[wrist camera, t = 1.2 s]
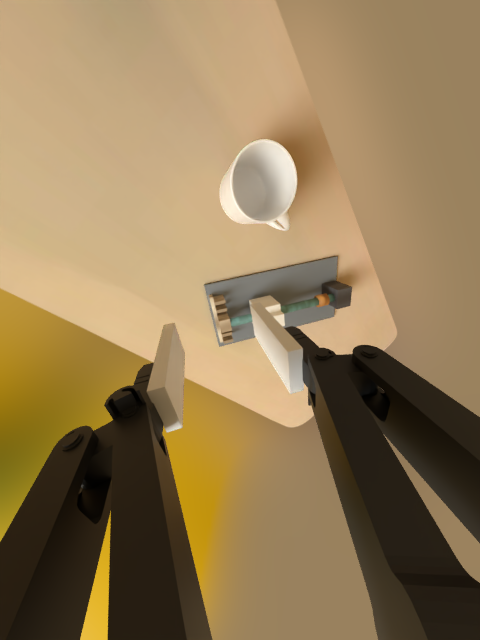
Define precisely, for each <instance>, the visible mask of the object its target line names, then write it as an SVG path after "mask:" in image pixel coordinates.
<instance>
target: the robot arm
mask: <svg viewBox="0 0 480 640" xmlns="http://www.w3.org/2000/svg"><path fill="white" fill-rule="evenodd" d="M250 307H251V314H252V320H253V327H254V334H255V337H256V338H257V340H258V342H259V343H260V345H261V346H262V348H263V350H264V351H265V353H266V355H267V356H268V358H269V360H270V361H271V363H272V365H273V366H274V368H275V369H276V371H277V373H278V374H279V376H280V378H281V379H282V381H283V383H284V384H285V386H286V388H287V389H288V391H289V393H290V394H293V393H296V392H299V391H302V390H304V383H305V385H306V386H307V387H308V405H312V409H313V412H314V415H315V418H316V422H317V425H318V428H319V431H320V435H321V438H322V442H323V445H324V448H325V451H326V454H327V458H328V461H329V465H330V468H331V471H332V474H333V478H334V481H335V484H336V487H337V491H338V494H339V498H340V501H341V504H342V507H343V511H344V514H345V517H346V520H347V524H348V527H349V530H350V534H351V537H352V540H353V544H354V547H355V550H356V553H357V557H358V560H359V563H360V567H361V570H362V573H363V576H364V580H365V582H366V586H367V590H368V593H369V597H370V600H371V604H372V608H373V615H374V621H375V627H376V632H377V636H378V640H480V583H479V582H478V581H476V580H475V579H474V578H472V577H471V576H470V575H469V574H468V573H467V572H466V571H465V569H464V568H463V567H462V565H461V564H460V562H459V561H458V559H457V558H456V556H455V555H454V553H453V551H452V550H451V548H450V546H449V544H448V543H447V541H446V539H445V538H444V536H443V534H442V533H441V531H440V529H439V527H438V526H437V525H436V522H435V521H434V519H433V517H432V516H431V514H430V513H429V511H428V509H427V508H426V506H425V504H424V502H423V500H422V499H421V497H420V495H419V494H418V492H417V490H416V489H415V487H414V485H413V484H412V482H411V480H410V479H409V477H408V475H407V474H406V472H405V470H404V468H403V467H402V465H401V463H400V462H399V460H398V458H397V457H396V455H395V453H394V452H393V450H392V448H391V447H390V445H389V443H388V442H387V440H386V438H385V436H386V437H387V438H388V439H389V440H390V441H391V443H392V444H393V445H394V446H395V447H396V448H397V450H398V451H399V452H400V453H401V454H402V455H403V456H404V457H405V459H406V460H407V461H408V462H409V463H410V464H411V465H412V467H413V468H414V469H415V470H416V471H417V472H418V473H419V474H420V476H421V477H422V478H423V479H424V480H425V481H426V483H427V484H428V485H429V486H430V487H431V488H432V489H433V490H434V492H435V493H436V494H437V495H438V496H439V497H440V498H441V500H442V501H443V502H444V503H445V504H446V505H447V506H448V508H449V509H450V510H451V511H452V512H453V513H454V514H455V516H456V517H457V518H458V519H459V520H460V521H461V522H462V523H463V525H464V526H465V527H466V528H467V529H468V530H469V531H470V533H472V535H473V536H474V537H475V538H476V539H477V541H478V542H479V543H480V417H478V416H477V415H476V414H474V413H473V412H471V411H470V410H468V409H467V408H465V407H464V406H462V405H461V404H459V403H458V402H457V401H455V400H454V399H452V398H451V397H449V396H448V395H446V394H445V393H444V392H442V391H441V390H439V389H438V388H436V387H435V386H433V385H432V384H430V383H429V382H428V381H426V380H425V379H423V378H422V377H420V376H419V375H417V374H416V373H414V372H413V371H411V370H410V369H409V368H407V367H406V366H404V365H403V364H401V363H400V362H399V361H397V360H396V359H394V358H393V357H391V356H390V355H388V354H387V353H385V352H384V351H383V350H381V349H379V348H377V347H374V346H370V345H359V346H357V347H355V348H354V349H353V354H349V355H336V354H335V353H334V352H333V351H331V350H329V349H326V348H319V347H318V346H317V345H316V344H315V343H314V342H313V341H312V340H311V339H309V338H308V337H307V336H306V335H305V334H304V333H303V332H302V331H301V330H300V329H298V328H296V327H293V326H290V327H286V328H283V327H282V325H281V324H280V323H279V322H278V321H277V320H276V319H275V318H274V317H273V316H272V315H271V314H270V313H269V312H268V311H267V310H266V308H265V307H264V306H263V305H262V304H261V303H260V302H259V303H255V304H251V305H250ZM184 365H185V352H184V349H183V346H182V344H181V341H180V338H179V335H178V332H177V329H176V326H175V323H171V324H167V325H164V326H163V330H162V334H161V337H160V341H159V345H158V349H157V353H156V357H155V361H154V363H151V364H147V365H144V366H143V367H142V368H141V369H140V370H139V371H138V374H137V377H136V380H135V382H134V385H133V386H126V387H123V388H121V389H119V390H117V391H115V392H114V393H113V394H112V395H110V397H109V398H108V399H107V400H106V403H105V405H104V406H105V407H106V409H107V410H108V412H109V413H110V415H111V416H112V418H113V421H111V422H110V423H108V424H106V425H104V426H102V427H100V428H98V429H96V430H94V431H93V430H92V428H91V427H89V426H82V427H79V428H77V429H74V430H72V431H71V432H69V433H68V434H66V435H65V436H64V437H63V438H62V439H61V440H60V441H58V443H57V444H56V446H55V447H54V448H53V450H52V452H51V454H50V455H49V457H48V459H47V461H46V462H45V464H44V466H43V468H42V469H41V471H40V473H39V475H38V477H37V478H36V480H35V482H34V484H33V486H32V487H31V489H30V491H29V492H28V494H27V496H26V498H25V500H24V501H23V503H22V505H21V507H20V508H19V510H18V512H17V514H16V515H15V517H14V519H13V521H12V523H11V524H10V526H9V528H8V530H7V532H6V533H5V535H4V537H3V538H2V540H1V542H0V640H80V637H81V633H82V628H83V624H84V620H85V615H86V612H87V607H88V602H89V599H90V595H91V591H92V586H93V582H94V578H95V573H96V570H97V565H98V561H99V557H100V552H101V548H102V544H103V539H104V536H105V532H106V527H107V523H108V519H109V515H110V511H111V533H110V535H111V536H110V572H109V574H110V575H109V610H108V640H212V636H211V632H210V628H209V624H208V620H207V616H206V611H205V607H204V603H203V598H202V594H201V590H200V586H199V581H198V577H197V573H196V569H195V564H194V560H193V556H192V552H191V548H190V543H189V539H188V535H187V530H186V527H185V522H184V518H183V513H182V509H181V505H180V501H179V497H178V493H177V488H176V484H175V480H174V475H173V472H172V468H171V463H170V459H169V454H168V450H167V446H166V442H165V439H164V437H163V435H162V431H163V426H164V427H165V429H166V432H170V431H173V430H176V429H179V428H182V427H183V426H182V425H183V395H184ZM383 390H384V391H383ZM382 432H383V433H382ZM383 434H384V435H385V436H384V435H383Z"/></svg>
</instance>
